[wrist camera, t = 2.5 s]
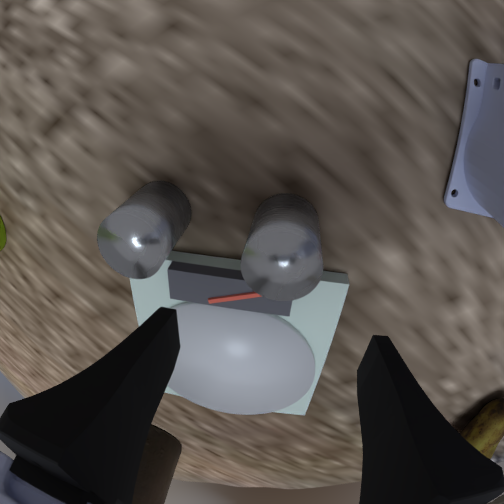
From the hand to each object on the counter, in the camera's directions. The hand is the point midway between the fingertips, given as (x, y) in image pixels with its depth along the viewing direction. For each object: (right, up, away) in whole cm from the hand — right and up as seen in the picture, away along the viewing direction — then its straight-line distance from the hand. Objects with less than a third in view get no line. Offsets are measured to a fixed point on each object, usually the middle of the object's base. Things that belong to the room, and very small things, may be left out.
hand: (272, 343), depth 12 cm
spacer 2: (+1, +5, +8) cm, 10 cm away
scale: (-2, -4, +14) cm, 15 cm away
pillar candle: (-15, -23, +28) cm, 39 cm away
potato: (+27, -18, +18) cm, 37 cm away
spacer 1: (-7, +6, +9) cm, 13 cm away
